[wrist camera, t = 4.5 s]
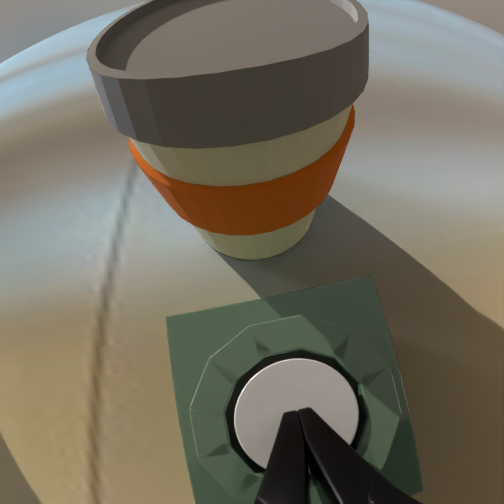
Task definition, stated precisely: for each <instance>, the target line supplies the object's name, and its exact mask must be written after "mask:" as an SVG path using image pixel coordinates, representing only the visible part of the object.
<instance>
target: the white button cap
mask: <svg viewBox="0 0 504 504" xmlns="http://www.w3.org/2000/svg"><path fill="white" fill-rule="evenodd" d="M306 407H311V408H312V409H313V410H314V411H315V412H316V413H317V414H318V415H319V416H320V417H321V418H322V419H323V420H324V421H325V422H326V423H327V424H328V425H329V426H330V427H331V428H332V429H333V430H334V431H335V432H336V433H338V434H339V435H340V436H341V437H342V438H343V439H344V440H345V441H346V442H347V443H348V444H349V445H351V443H352V441H353V439H354V437H355V435H356V432H357V428H358V422H359V407H358V402H357V399H356V395H355V393H354V391H353V389H352V387H351V386H350V384H349V382H348V381H347V380H346V379H345V378H344V377H343V376H342V375H341V374H340V373H339V372H338V371H336V370H335V369H334V368H332V367H330V366H328V365H326V364H324V363H322V362H319V361H316V360H311V359H303V358H296V359H287V360H282V361H279V362H276V363H273V364H271V365H269V366H267V367H265V368H263V369H262V370H261V371H259V372H258V373H256V374H255V375H254V376H253V377H252V378H251V379H250V380H249V381H248V383H247V384H246V385H245V386H244V388H243V390H242V391H241V393H240V395H239V397H238V400H237V403H236V406H235V412H234V426H235V432H236V436H237V438H238V441H239V443H240V445H241V447H242V448H243V450H244V452H245V453H246V454H247V455H248V456H249V457H250V458H251V459H252V460H253V461H254V462H255V463H256V464H258V465H259V466H261V467H262V468H264V469H266V466H267V463H268V460H269V457H270V454H271V451H272V448H273V444H274V441H275V438H276V435H277V432H278V428H279V425H280V422H281V418H282V415H283V413H284V412H288V411H293V410H296V411H298V409H302V408H306ZM308 468H309V467H308ZM309 474H310V471H309Z"/></svg>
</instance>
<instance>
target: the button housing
mask: <svg viewBox="0 0 504 504" xmlns="http://www.w3.org/2000/svg"><path fill="white" fill-rule="evenodd" d="M166 325H167V335H168V344H169V353H170V361H171V370H172V377H173V385H174V392H175V399H176V405H177V412H178V418H179V424H180V430H181V436H182V441H183V447H184V452H185V457H186V462H187V467H188V472H189V477H190V482H191V486H192V491H193V495H194V500H195V504H254V501H255V499H256V496H257V493H258V490H259V487H260V484H261V481H262V478H263V475H264V472H265V469H264V468H262V467H261V466H259V465H258V464H256V463H255V462H254V461H253V460H252V459H251V458H250V457H249V456H248V455H247V454H246V453H245V452H244V450H243V448H242V447H241V445H240V443H239V441H238V438H237V436H236V432H235V426H234V412H235V406H236V403H237V400H238V397H239V395H240V393H241V391H242V390H243V388H244V386H245V385H246V384H247V383H248V381H249V380H250V379H251V378H252V377H253V376H254V375H255V374H256V373H258V372H259V371H261V370H262V369H263V368H265V367H267V366H269V365H271V364H273V363H276V362H279V361H282V360H287V359H296V358H303V359H311V360H316V361H319V362H322V363H324V364H326V365H328V366H330V367H332V368H334V369H335V370H336V371H338V372H339V373H340V374H341V375H342V376H343V377H344V378H345V379H346V380H347V381H348V382H349V384H350V386H351V387H352V389H353V391H354V393H355V395H356V399H357V402H358V407H359V422H358V428H357V432H356V435H355V437H354V439H353V441H352V443H351V445H350V446H351V447H352V448H353V449H354V450H355V451H356V452H357V453H359V454H360V455H361V456H362V457H363V458H364V459H365V460H366V461H367V462H368V463H369V464H370V465H372V466H373V467H374V468H375V469H376V471H378V472H379V473H381V474H382V475H383V476H384V477H385V478H386V479H387V480H389V481H390V482H391V483H392V484H393V485H395V486H396V487H397V488H399V489H400V490H402V491H403V492H405V493H406V494H407V495H409V496H413V495H415V494H418V493H420V492H422V491H423V485H422V478H421V471H420V465H419V459H418V453H417V448H416V442H415V437H414V432H413V427H412V422H411V417H410V412H409V408H408V403H407V399H406V394H405V390H404V386H403V382H402V378H401V374H400V370H399V366H398V362H397V358H396V355H395V351H394V347H393V344H392V340H391V337H390V333H389V330H388V326H387V323H386V320H385V316H384V313H383V310H382V307H381V303H380V300H379V297H378V294H377V291H376V288H375V285H374V282H373V279H372V276H371V274H368V275H364V276H360V277H356V278H352V279H348V280H343V281H339V282H335V283H330V284H326V285H322V286H317V287H313V288H308V289H304V290H299V291H294V292H290V293H285V294H280V295H276V296H271V297H266V298H261V299H256V300H251V301H246V302H241V303H236V304H231V305H226V306H220V307H215V308H210V309H204V310H199V311H194V312H188V313H182V314H177V315H171V316H166ZM309 476H310V490H311V504H322V503H321V500H320V498H319V495H318V492H317V490H316V487H315V485H314V482H313V479H312V477H311V474H309Z"/></svg>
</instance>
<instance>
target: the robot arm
mask: <svg viewBox="0 0 504 504" xmlns="http://www.w3.org/2000/svg"><path fill="white" fill-rule="evenodd" d="M308 467H309V468H308ZM309 471H310V474H311V477H312V479H313V482H314V485H315V487H316V490H317V492H318V495H319V498H320V500H321V503H322V504H422V503H420V502H419V501H417V500H415V499H414V498H412V497H411V496H409V495H407V494H406V493H405V492H403V491H402V490H400V489H399V488H397V487H396V486H395V485H393V484H392V483H391V482H390V481H389V480H387V479H386V478H385V477H384V476H383V475H382V474H381V473H379V472H378V471H376V469H375V468H374V467H373V466H372V465H370V464H369V463H368V462H367V461H366V460H365V459H364V458H363V457H362V456H361V455H360V454H359V453H357V452H356V451H355V450H354V449H353V448H352V447H351V446H350V445H349V444H348V443H347V442H346V441H345V440H344V439H343V438H342V437H341V436H340V435H339V434H338V433H336V432H335V431H334V430H333V429H332V428H331V427H330V426H329V425H328V424H327V423H326V422H325V421H324V420H323V419H322V418H321V417H320V416H319V415H318V414H317V413H316V412H315V411H314V410H313V409H312V408H311V407H306V408H302V409H298V411H296V410H293V411H288V412H284V413H283V415H282V418H281V422H280V425H279V428H278V432H277V435H276V438H275V441H274V444H273V448H272V451H271V454H270V457H269V460H268V463H267V466H266V469H265V472H264V475H263V478H262V481H261V484H260V487H259V490H258V493H257V496H256V499H255V501H254V504H311V490H310V476H309Z"/></svg>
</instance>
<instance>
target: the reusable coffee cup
mask: <svg viewBox="0 0 504 504" xmlns="http://www.w3.org/2000/svg"><path fill="white" fill-rule="evenodd" d="M86 60H87V63H88V67H89V70H90V73H91V76H92V79H93V82H94V85H95V88H96V91H97V94H98V97H99V100H100V103H101V105H102V108H103V111H104V113H105V116H106V118H107V120H108V122H109V123H110V124H111V125H112V126H113V127H114V128H115V129H116V130H117V131H118V132H119V133H121V134H124V135H126V136H128V139H129V146H130V151H131V153H132V155H133V157H134V159H135V161H136V163H137V165H138V166H139V167H140V168H141V170H142V171H143V172H144V174H145V175H146V176H147V177H148V179H149V180H150V181H151V183H152V184H153V185H154V186H155V188H156V189H157V190H158V192H159V193H160V194H161V195H162V197H163V198H164V199H165V200H166V202H167V203H168V204H169V205H170V207H171V208H172V209H173V210H174V211H175V212H176V213H177V214H178V215H179V216H180V217H181V218H183V219H184V220H186V221H187V222H189V223H191V224H192V225H194V227H195V228H196V229H197V231H198V232H199V233H200V235H201V236H202V237H203V239H204V240H205V241H206V242H207V243H208V244H209V245H210V246H211V247H213V248H214V249H216V250H217V251H219V252H220V253H223V254H225V255H228V256H230V257H234V258H239V259H245V260H257V259H263V258H269V257H272V256H275V255H278V254H280V253H283V252H285V251H286V250H288V249H290V248H291V247H293V246H294V245H295V244H296V243H297V242H299V241H300V240H301V239H302V238H303V236H304V235H305V234H306V232H307V231H308V229H309V227H310V225H311V222H312V220H313V217H314V215H315V212H316V209H317V206H319V205H320V204H321V202H322V201H323V200H324V198H325V197H326V196H327V194H328V193H329V191H330V189H331V187H332V184H333V182H334V179H335V177H336V174H337V171H338V169H339V166H340V163H341V161H342V158H343V155H344V153H345V150H346V147H347V144H348V142H349V139H350V136H351V133H352V130H353V128H354V120H355V110H354V107H353V102H354V101H355V100H356V99H357V98H358V97H359V95H360V94H361V93H362V92H363V90H364V88H365V85H366V82H367V79H368V65H369V23H368V16H367V12H366V11H365V9H364V8H363V7H362V5H361V4H360V3H358V2H357V1H356V0H149V1H147V2H145V3H143V4H141V5H139V6H137V7H135V8H133V9H131V10H130V11H128V12H126V13H125V14H123V15H122V16H120V17H118V18H117V19H115V20H114V21H113V22H112V23H110V24H109V25H108V26H107V27H106V28H104V29H103V30H102V31H101V32H100V33H99V34H98V36H97V37H96V38H95V39H94V40H93V42H92V43H91V45H90V47H89V49H88V52H87V57H86Z"/></svg>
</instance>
